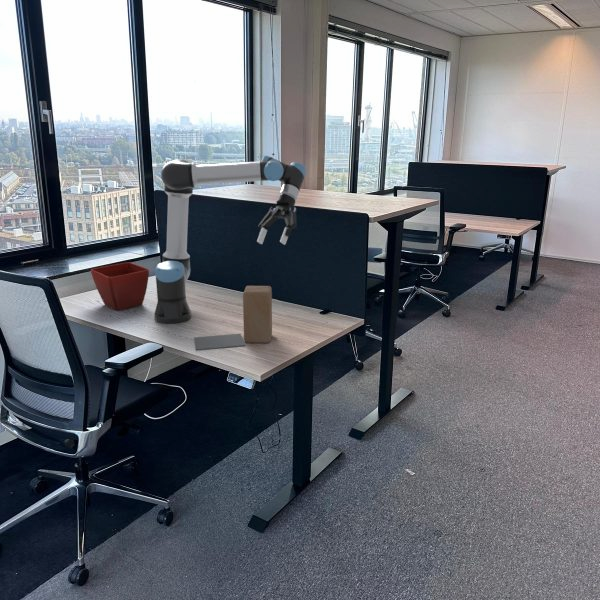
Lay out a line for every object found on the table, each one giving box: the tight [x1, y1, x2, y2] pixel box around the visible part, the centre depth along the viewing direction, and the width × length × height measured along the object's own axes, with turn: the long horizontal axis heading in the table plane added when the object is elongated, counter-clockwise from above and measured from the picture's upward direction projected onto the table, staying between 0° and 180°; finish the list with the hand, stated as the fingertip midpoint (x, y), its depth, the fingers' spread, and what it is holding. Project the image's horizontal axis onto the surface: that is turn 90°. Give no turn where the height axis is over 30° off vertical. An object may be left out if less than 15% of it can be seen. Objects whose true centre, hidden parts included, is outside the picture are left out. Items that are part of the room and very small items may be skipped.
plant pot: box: [90, 261, 150, 311], centre depth 240 cm, size 19×19×17 cm
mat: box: [193, 333, 246, 351], centre depth 201 cm, size 18×12×1 cm, turn 105°
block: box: [242, 285, 273, 344], centre depth 201 cm, size 10×10×20 cm
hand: (270, 243), depth 218 cm, fingers open, 13 cm apart
